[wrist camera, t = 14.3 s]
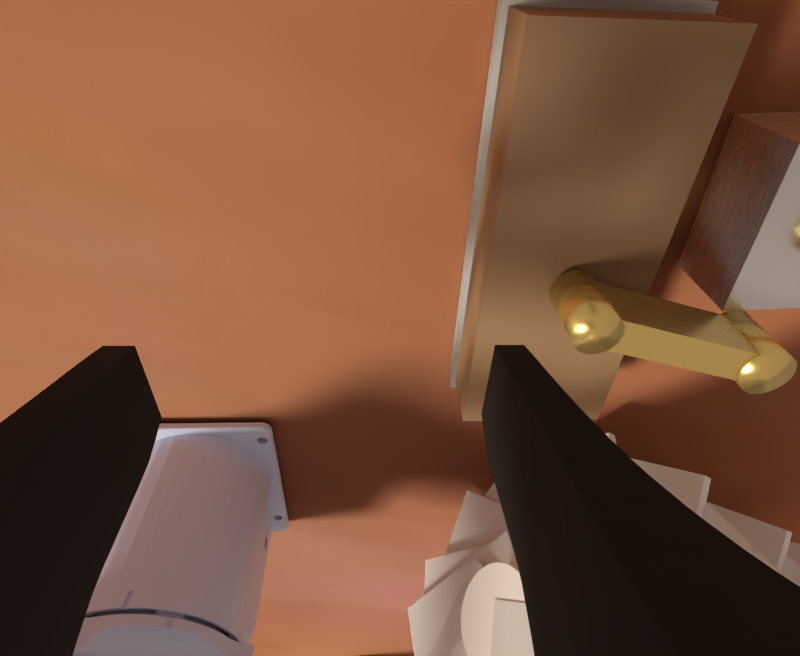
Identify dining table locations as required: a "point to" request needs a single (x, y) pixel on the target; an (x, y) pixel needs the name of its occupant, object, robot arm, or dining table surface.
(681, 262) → the white block with knob
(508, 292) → the tan flat board
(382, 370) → the dining table surface
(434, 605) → the spiral staircase
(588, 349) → the lever
